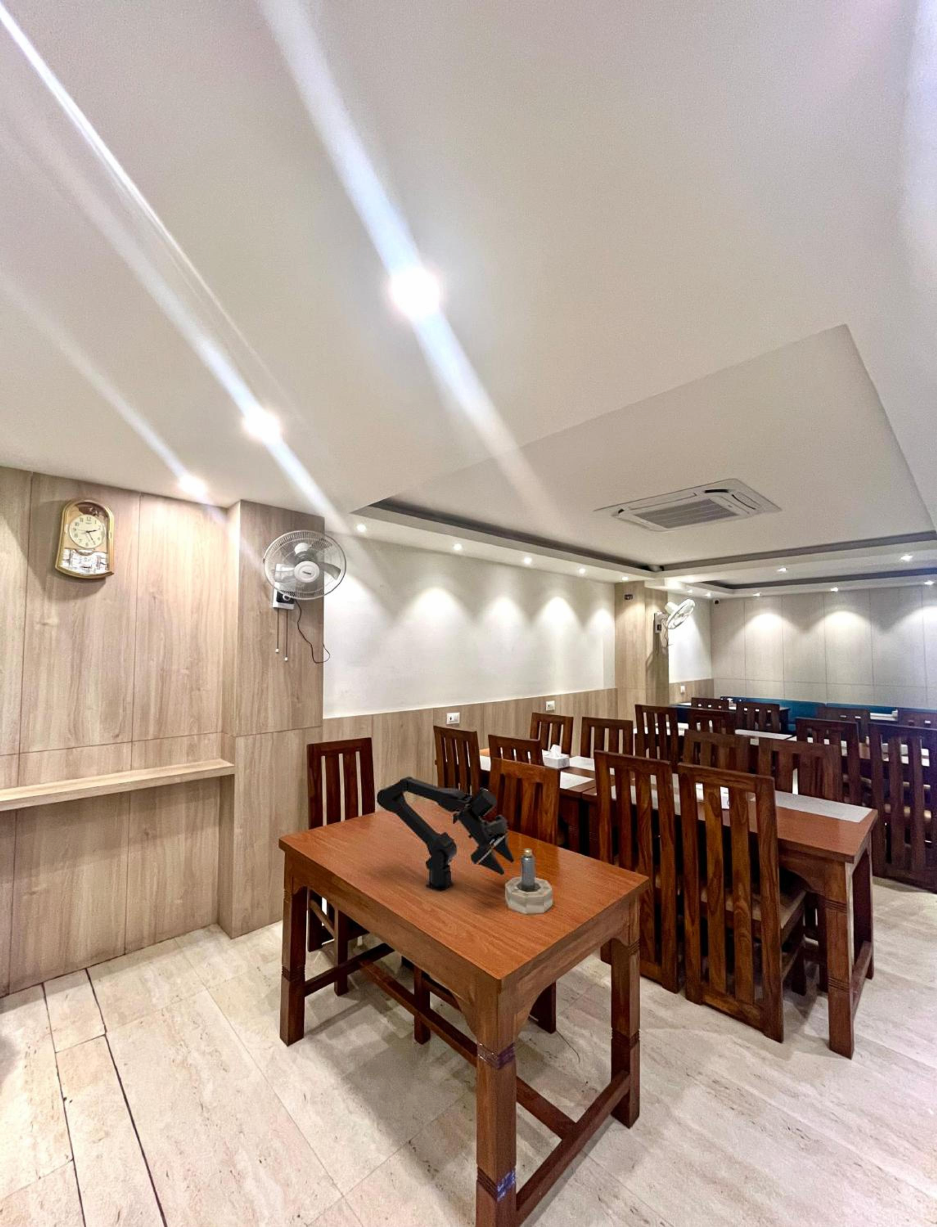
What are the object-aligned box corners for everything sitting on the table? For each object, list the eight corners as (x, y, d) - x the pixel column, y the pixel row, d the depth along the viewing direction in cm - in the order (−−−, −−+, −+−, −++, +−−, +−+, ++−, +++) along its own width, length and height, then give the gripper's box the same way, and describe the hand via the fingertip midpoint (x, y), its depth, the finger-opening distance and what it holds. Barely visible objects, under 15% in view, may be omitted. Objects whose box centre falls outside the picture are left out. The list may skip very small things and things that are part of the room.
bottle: (522, 905, 147) (521, 852, 148) (521, 898, 151) (520, 847, 152) (536, 905, 147) (535, 852, 148) (534, 898, 151) (533, 847, 152)
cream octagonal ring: (498, 904, 147) (498, 889, 148) (520, 887, 158) (520, 873, 158) (538, 918, 140) (537, 901, 140) (558, 899, 150) (557, 883, 151)
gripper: (480, 818, 147) (516, 863, 142) (501, 800, 164) (534, 840, 159) (456, 841, 149) (490, 887, 144) (479, 822, 166) (511, 862, 161)
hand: (508, 867), depth 152 cm, fingers open, 9 cm apart
